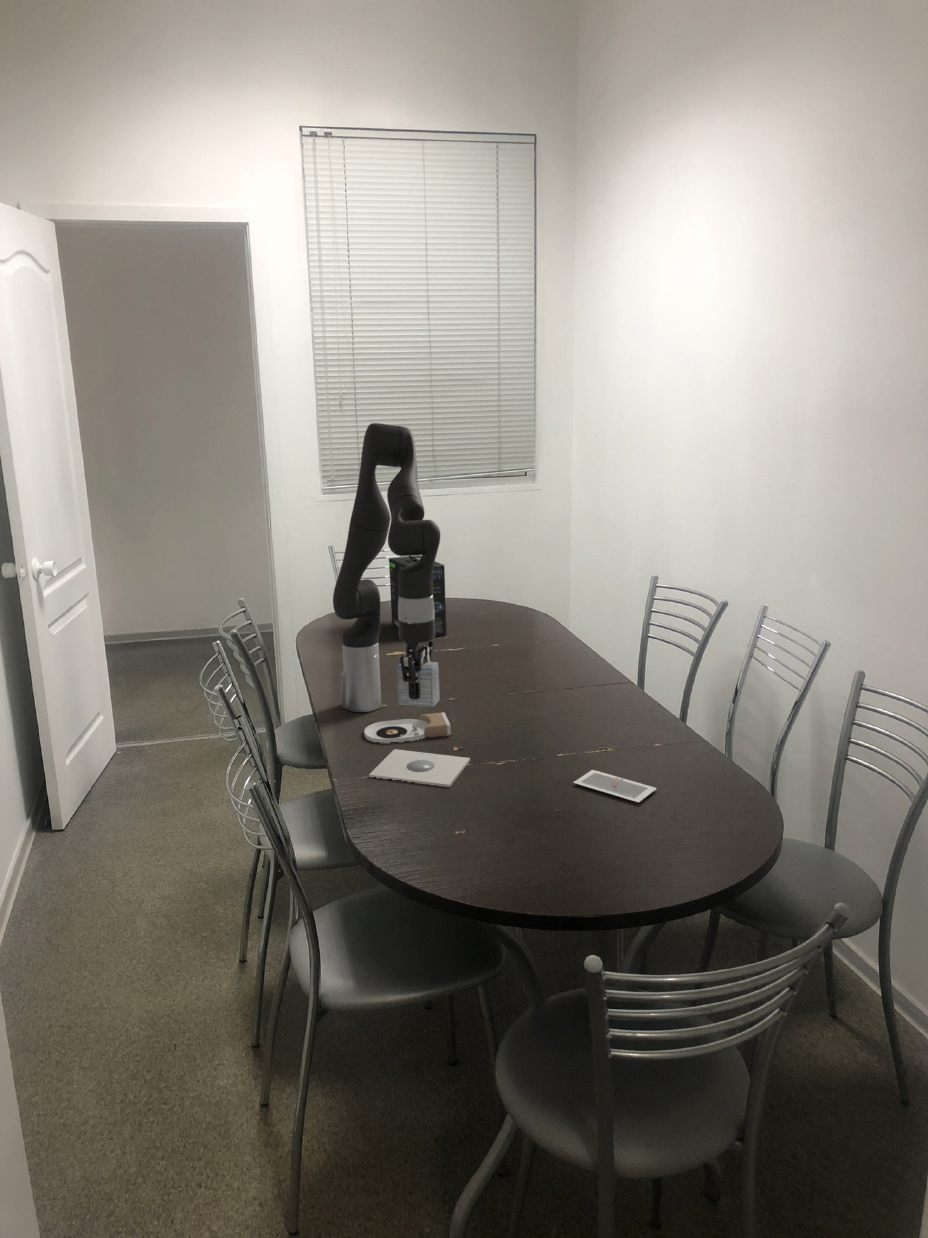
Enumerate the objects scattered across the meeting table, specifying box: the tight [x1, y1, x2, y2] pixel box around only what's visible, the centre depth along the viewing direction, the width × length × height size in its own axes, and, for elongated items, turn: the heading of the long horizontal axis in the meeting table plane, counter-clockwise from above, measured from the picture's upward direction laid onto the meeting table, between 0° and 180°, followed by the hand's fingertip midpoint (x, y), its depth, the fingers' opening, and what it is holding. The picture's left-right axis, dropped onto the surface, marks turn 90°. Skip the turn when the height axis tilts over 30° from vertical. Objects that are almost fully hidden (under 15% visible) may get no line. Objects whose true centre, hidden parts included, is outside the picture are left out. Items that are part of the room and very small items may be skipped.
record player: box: [363, 712, 452, 744], centre depth 209 cm, size 12×3×20 cm
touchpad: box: [572, 769, 658, 803], centre depth 178 cm, size 8×15×2 cm, turn 51°
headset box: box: [388, 555, 448, 637], centre depth 296 cm, size 22×12×26 cm, turn 25°
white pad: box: [368, 748, 471, 788], centre depth 189 cm, size 18×14×1 cm
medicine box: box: [396, 661, 440, 708], centre depth 184 cm, size 8×4×9 cm, turn 74°
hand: (418, 694), depth 185 cm, fingers closed on medicine box, 4 cm apart
